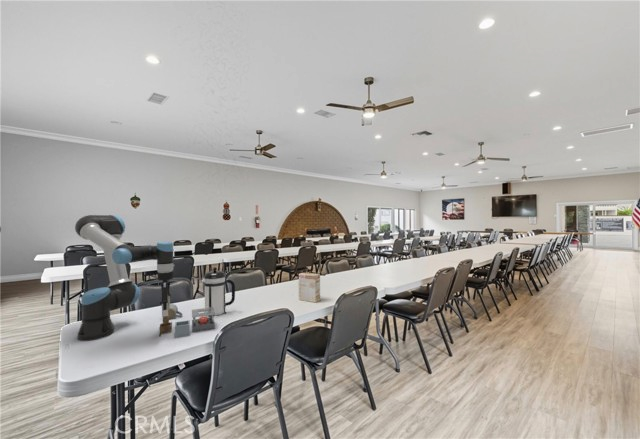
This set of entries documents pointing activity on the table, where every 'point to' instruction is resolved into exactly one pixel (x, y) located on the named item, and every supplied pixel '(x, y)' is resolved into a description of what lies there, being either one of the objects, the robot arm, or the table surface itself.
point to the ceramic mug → (174, 311)
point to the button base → (203, 326)
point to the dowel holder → (165, 328)
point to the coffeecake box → (309, 287)
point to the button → (202, 319)
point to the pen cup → (182, 328)
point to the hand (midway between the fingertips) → (166, 312)
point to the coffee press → (216, 291)
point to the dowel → (166, 318)
